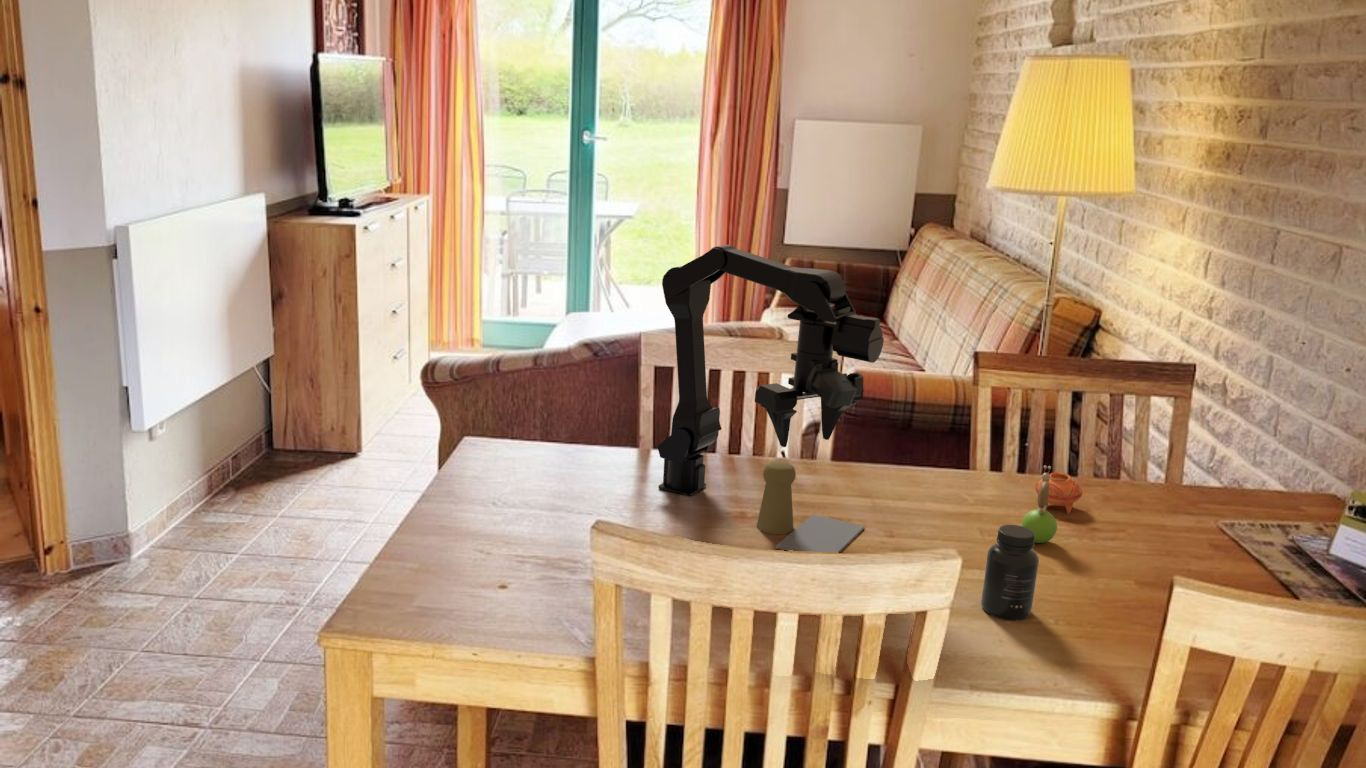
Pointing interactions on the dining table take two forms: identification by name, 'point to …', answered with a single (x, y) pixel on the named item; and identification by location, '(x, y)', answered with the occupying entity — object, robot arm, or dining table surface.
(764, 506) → the cork
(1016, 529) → the supplement bottle
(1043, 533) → the snail figurine
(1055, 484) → the pot
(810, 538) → the mat
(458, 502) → the dining table surface
